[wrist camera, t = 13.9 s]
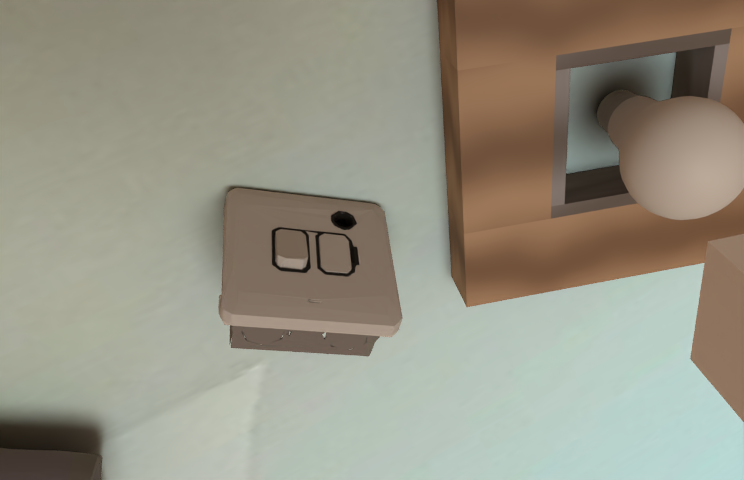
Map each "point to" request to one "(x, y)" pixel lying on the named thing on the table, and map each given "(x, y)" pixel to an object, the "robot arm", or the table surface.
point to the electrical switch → (306, 274)
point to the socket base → (549, 139)
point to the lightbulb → (676, 152)
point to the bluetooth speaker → (48, 465)
